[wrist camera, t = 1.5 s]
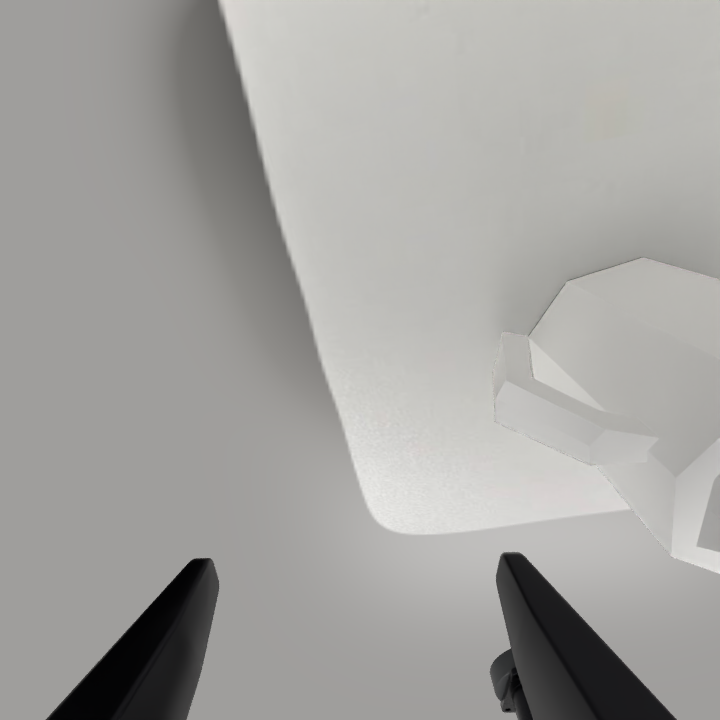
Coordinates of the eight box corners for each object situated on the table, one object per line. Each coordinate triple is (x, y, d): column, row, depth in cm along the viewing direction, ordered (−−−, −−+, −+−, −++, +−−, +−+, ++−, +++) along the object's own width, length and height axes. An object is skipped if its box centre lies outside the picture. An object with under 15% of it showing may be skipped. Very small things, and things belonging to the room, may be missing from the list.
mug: (726, 260, 17) (1106, 349, 9) (655, 415, 21) (867, 586, 12) (468, 250, 17) (588, 332, 8) (443, 409, 21) (506, 580, 12)
